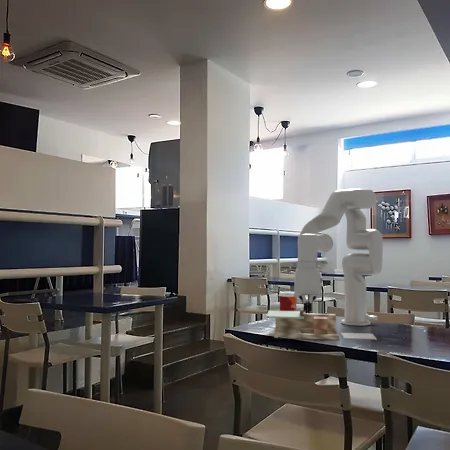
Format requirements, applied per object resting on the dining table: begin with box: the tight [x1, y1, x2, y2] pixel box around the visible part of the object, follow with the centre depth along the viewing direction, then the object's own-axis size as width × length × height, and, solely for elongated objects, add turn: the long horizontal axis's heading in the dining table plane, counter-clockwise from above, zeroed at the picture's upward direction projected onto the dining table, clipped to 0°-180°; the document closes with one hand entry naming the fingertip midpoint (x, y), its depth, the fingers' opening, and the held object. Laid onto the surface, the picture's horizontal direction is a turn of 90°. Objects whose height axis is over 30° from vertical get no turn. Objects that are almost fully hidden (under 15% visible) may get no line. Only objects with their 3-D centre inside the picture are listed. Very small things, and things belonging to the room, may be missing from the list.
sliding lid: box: [266, 307, 305, 319], centre depth 185 cm, size 14×15×3 cm
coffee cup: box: [278, 291, 298, 311], centre depth 202 cm, size 8×8×15 cm
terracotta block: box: [313, 317, 327, 334], centre depth 181 cm, size 5×5×7 cm
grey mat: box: [340, 332, 378, 341], centre depth 181 cm, size 12×10×1 cm
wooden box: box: [273, 312, 340, 341], centre depth 184 cm, size 24×16×8 cm, turn 82°
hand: (307, 312), depth 182 cm, fingers closed
